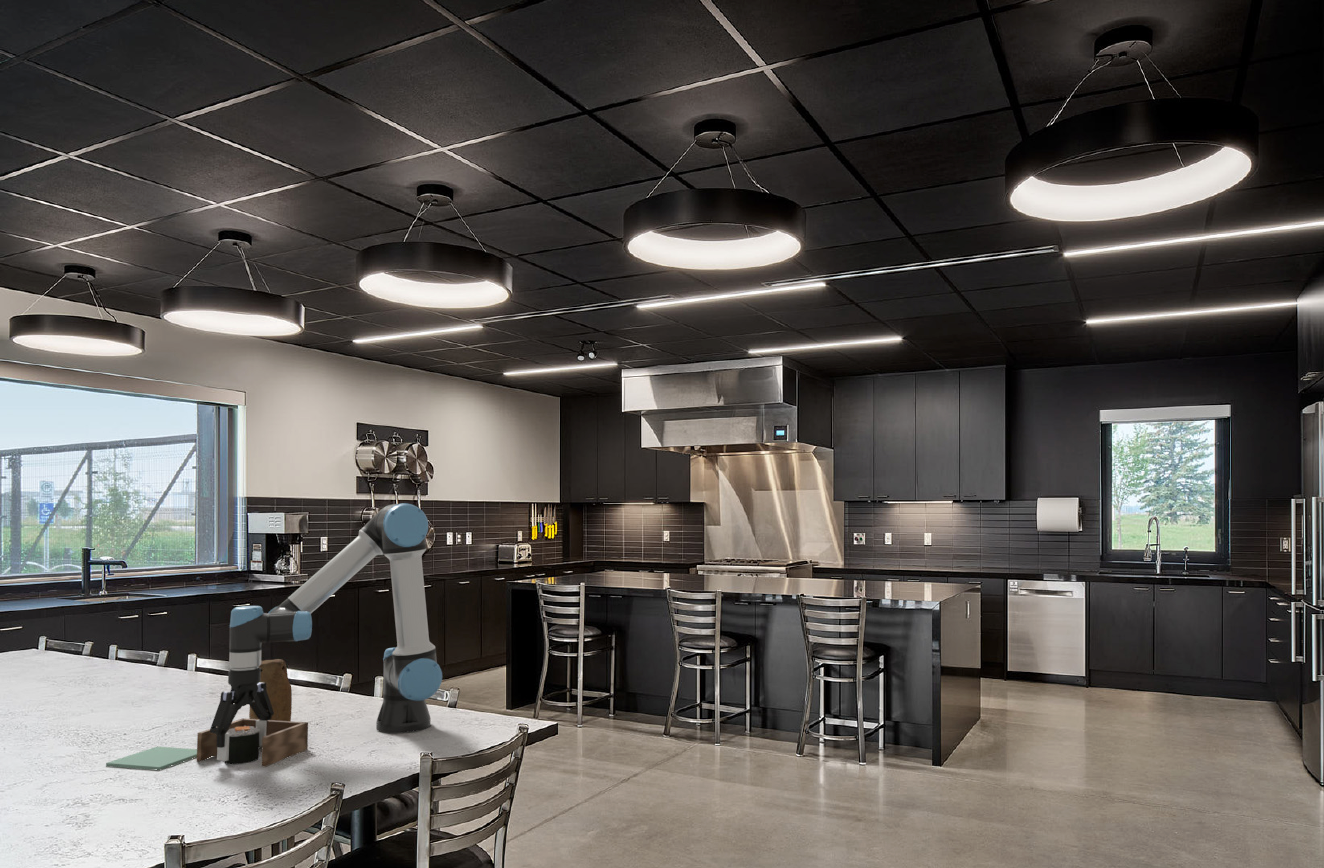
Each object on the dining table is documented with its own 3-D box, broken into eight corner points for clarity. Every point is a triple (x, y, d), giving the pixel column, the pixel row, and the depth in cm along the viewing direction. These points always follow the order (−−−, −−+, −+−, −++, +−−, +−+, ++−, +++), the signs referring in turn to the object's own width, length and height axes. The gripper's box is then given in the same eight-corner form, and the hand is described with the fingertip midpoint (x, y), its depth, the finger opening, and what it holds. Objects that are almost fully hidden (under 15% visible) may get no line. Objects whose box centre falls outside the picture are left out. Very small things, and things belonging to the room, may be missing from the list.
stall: (241, 745, 244) (242, 718, 244) (307, 749, 239) (308, 722, 239) (196, 761, 228) (197, 732, 229) (265, 766, 223) (266, 737, 224)
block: (250, 736, 253) (252, 663, 255) (248, 731, 260) (250, 660, 261) (292, 731, 258) (293, 660, 260) (288, 726, 265) (290, 656, 266)
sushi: (225, 766, 224) (225, 733, 225) (223, 758, 231) (224, 726, 232) (260, 761, 228) (261, 729, 228) (258, 753, 235) (259, 722, 236)
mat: (207, 753, 236) (208, 750, 236) (159, 770, 220) (159, 767, 220) (157, 749, 240) (157, 746, 240) (106, 766, 224) (106, 763, 225)
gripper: (265, 659, 244) (263, 740, 243) (195, 676, 220) (192, 765, 219) (289, 660, 242) (287, 741, 241) (221, 677, 218) (218, 767, 217)
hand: (242, 753), depth 230 cm, fingers open, 13 cm apart
